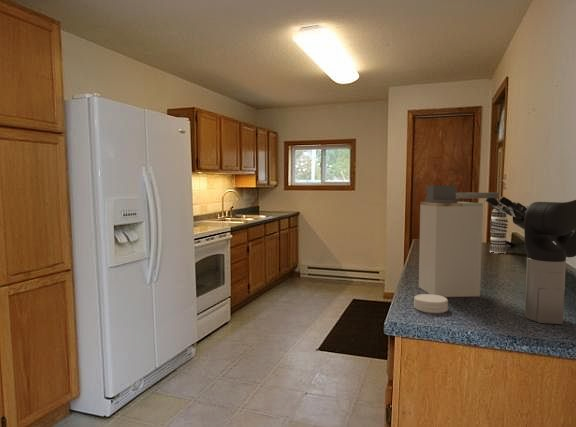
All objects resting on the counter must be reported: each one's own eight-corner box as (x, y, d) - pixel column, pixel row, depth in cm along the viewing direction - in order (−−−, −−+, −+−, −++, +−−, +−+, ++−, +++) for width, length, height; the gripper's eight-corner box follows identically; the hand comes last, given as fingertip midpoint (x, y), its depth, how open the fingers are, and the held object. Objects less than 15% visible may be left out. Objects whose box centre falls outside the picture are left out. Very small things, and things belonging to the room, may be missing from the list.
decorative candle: (510, 252, 224) (512, 208, 222) (500, 254, 219) (502, 209, 218) (495, 250, 232) (496, 208, 230) (485, 251, 227) (486, 208, 226)
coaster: (444, 316, 116) (444, 304, 115) (410, 310, 121) (410, 299, 121) (450, 307, 124) (450, 296, 124) (418, 302, 129) (418, 291, 129)
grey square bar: (491, 202, 144) (492, 185, 143) (501, 202, 138) (502, 185, 137) (426, 202, 142) (426, 185, 142) (433, 203, 136) (433, 185, 136)
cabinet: (460, 286, 149) (462, 198, 147) (480, 296, 135) (482, 199, 133) (418, 286, 149) (420, 198, 146) (434, 297, 135) (436, 199, 132)
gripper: (523, 210, 149) (488, 189, 148) (550, 213, 135) (511, 189, 133) (513, 228, 149) (477, 206, 148) (539, 232, 135) (500, 208, 134)
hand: (493, 198), depth 141 cm, fingers open, 8 cm apart
